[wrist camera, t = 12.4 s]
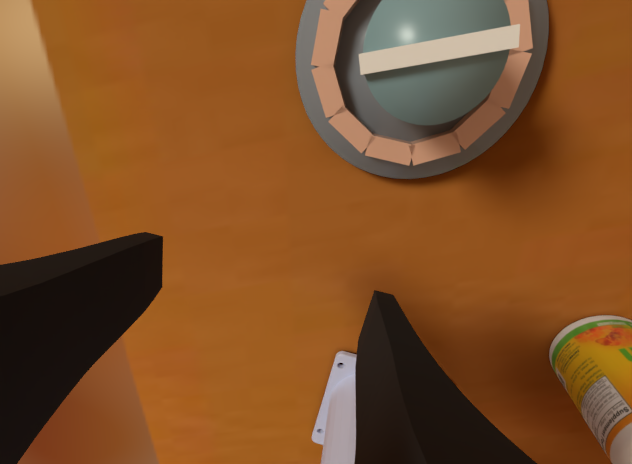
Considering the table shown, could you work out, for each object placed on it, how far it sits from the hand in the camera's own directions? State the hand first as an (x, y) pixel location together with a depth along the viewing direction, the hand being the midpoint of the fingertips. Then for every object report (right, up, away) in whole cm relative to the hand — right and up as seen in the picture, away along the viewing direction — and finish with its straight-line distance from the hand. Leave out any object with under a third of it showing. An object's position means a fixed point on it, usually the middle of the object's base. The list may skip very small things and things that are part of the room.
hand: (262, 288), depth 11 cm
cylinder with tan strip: (+6, +10, +4) cm, 12 cm away
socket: (+6, +10, +5) cm, 13 cm away
